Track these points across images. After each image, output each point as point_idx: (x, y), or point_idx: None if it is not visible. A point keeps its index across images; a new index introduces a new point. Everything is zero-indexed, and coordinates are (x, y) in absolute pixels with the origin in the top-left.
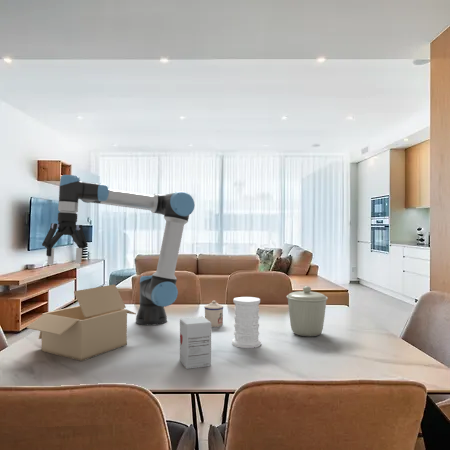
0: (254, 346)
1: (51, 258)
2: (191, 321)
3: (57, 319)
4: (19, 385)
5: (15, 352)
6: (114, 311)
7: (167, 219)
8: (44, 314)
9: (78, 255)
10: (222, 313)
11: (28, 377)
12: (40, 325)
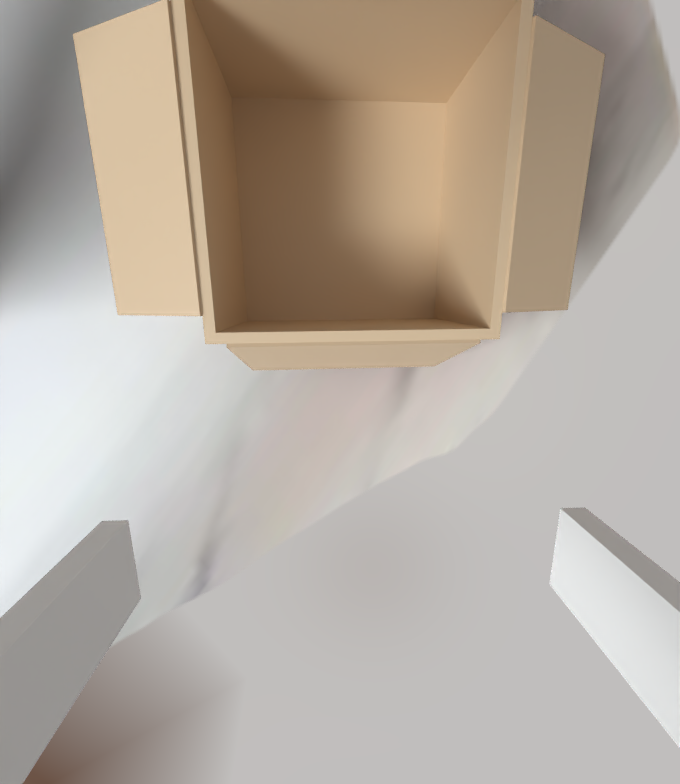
0: None
1: (654, 573)
2: None
3: (535, 177)
4: (674, 93)
5: (483, 381)
6: (198, 95)
7: None
8: (509, 308)
9: (51, 658)
10: None
11: (621, 130)
12: (562, 243)
